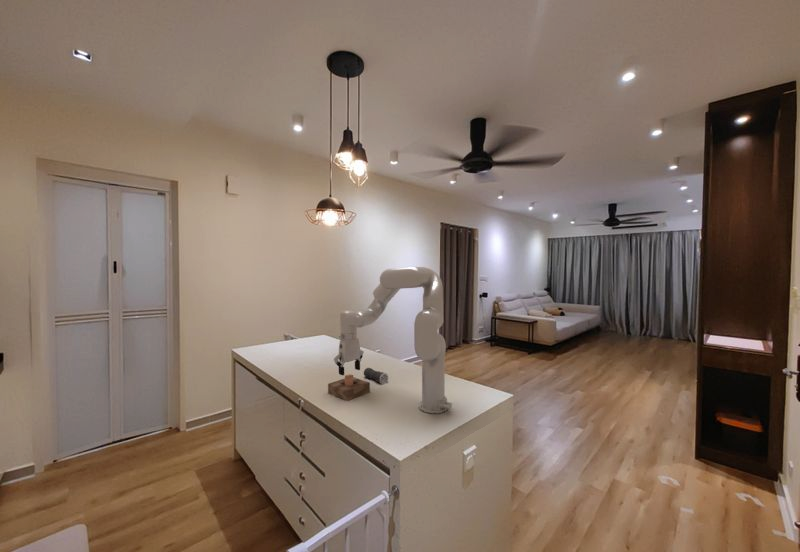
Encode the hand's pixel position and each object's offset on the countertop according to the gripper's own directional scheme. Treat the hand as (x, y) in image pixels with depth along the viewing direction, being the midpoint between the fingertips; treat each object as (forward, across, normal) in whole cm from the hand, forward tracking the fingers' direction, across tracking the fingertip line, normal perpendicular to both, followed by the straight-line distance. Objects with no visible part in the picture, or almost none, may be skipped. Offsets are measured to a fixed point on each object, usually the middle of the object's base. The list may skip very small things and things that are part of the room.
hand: (349, 372), depth 149 cm
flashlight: (+10, +20, +3) cm, 23 cm away
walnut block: (+10, 0, +1) cm, 10 cm away
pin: (+10, 0, +1) cm, 10 cm away
